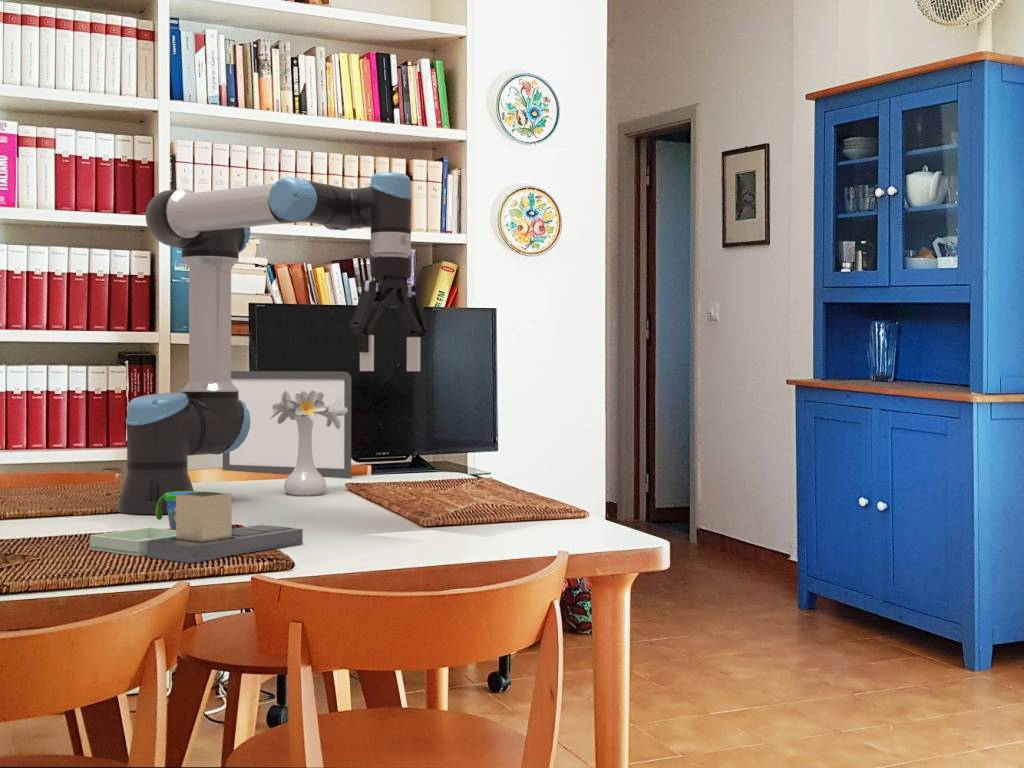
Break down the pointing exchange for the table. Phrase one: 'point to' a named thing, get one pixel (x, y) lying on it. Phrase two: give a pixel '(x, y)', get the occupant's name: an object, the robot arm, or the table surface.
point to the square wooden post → (203, 517)
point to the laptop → (291, 423)
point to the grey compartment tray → (226, 544)
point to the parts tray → (129, 540)
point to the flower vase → (306, 438)
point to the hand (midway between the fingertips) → (390, 371)
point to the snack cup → (170, 506)
